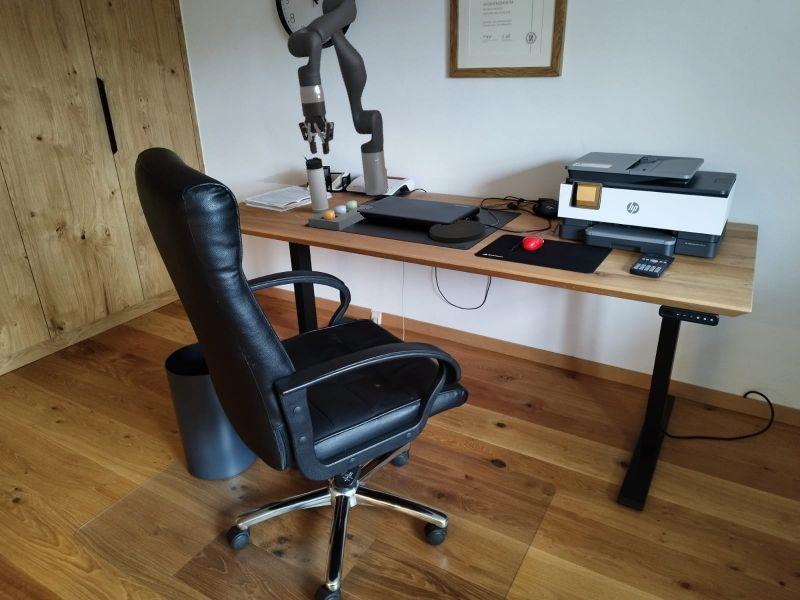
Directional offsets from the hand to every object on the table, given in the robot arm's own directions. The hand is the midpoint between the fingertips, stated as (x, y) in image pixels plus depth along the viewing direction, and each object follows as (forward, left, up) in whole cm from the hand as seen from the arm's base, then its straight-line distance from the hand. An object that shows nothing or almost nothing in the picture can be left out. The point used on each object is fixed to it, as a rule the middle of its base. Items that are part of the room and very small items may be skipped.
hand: (320, 153), depth 188 cm
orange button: (0, 0, -24) cm, 24 cm away
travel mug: (-13, -16, -26) cm, 33 cm away
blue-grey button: (-6, 0, -24) cm, 25 cm away
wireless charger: (-8, +47, -26) cm, 54 cm away
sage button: (-13, 0, -24) cm, 27 cm away
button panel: (-6, 0, -25) cm, 26 cm away
